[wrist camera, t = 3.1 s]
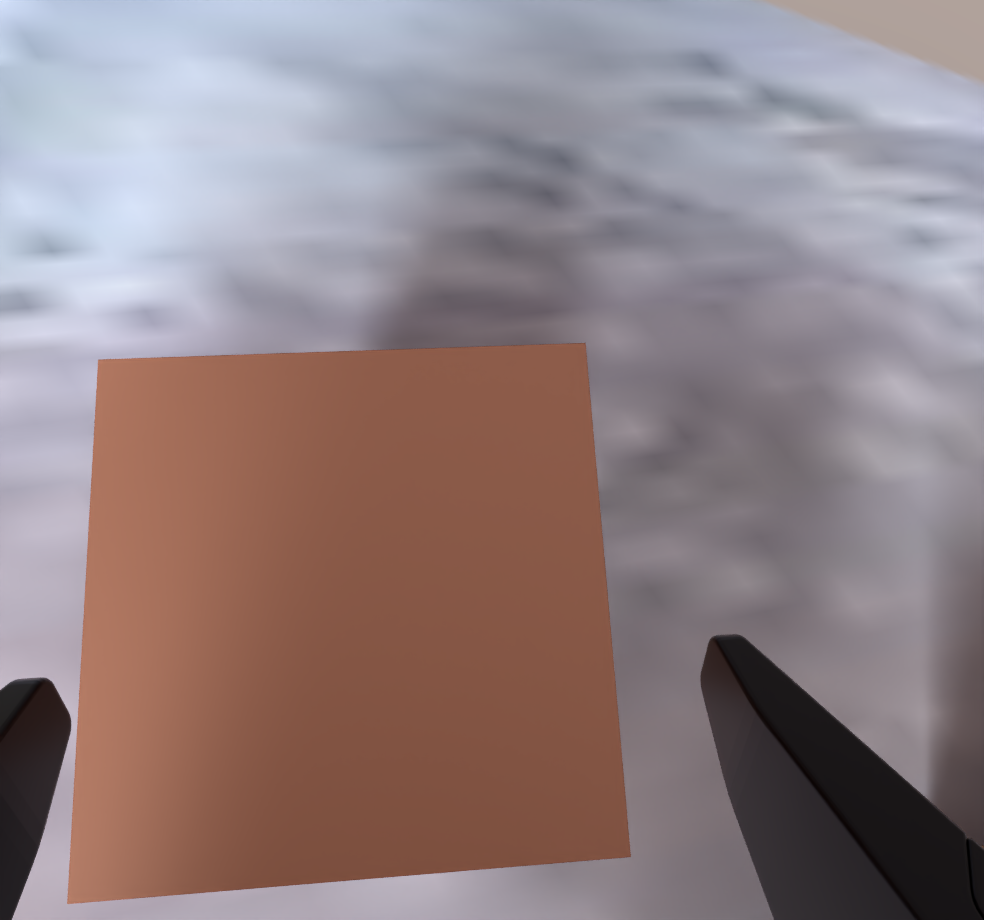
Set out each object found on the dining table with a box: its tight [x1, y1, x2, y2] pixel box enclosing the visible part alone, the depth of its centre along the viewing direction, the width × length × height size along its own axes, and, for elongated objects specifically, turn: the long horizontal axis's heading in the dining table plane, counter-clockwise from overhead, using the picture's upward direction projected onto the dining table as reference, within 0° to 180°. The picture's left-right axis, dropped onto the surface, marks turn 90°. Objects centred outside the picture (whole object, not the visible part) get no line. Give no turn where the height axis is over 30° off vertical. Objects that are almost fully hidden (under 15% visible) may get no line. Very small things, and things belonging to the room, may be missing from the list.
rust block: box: [67, 343, 631, 904], centre depth 12 cm, size 4×4×12 cm
